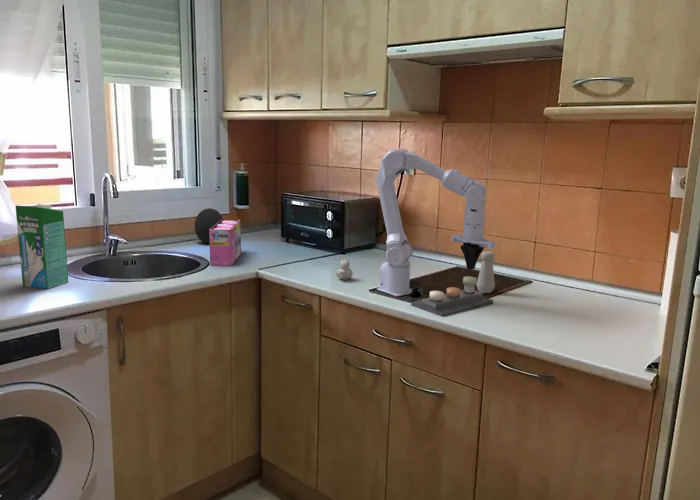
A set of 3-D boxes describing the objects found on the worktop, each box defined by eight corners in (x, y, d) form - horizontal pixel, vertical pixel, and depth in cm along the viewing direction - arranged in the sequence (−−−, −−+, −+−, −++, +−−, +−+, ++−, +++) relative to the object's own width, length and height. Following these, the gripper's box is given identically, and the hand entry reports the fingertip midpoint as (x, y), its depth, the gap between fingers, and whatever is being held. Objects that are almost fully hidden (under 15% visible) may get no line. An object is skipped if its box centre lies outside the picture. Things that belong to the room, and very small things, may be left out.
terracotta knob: (442, 302, 172) (443, 288, 171) (452, 300, 174) (453, 286, 174) (453, 305, 169) (454, 291, 168) (462, 303, 171) (463, 289, 170)
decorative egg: (206, 239, 258) (205, 205, 254) (230, 242, 253) (229, 207, 250) (188, 244, 246) (187, 209, 243) (213, 247, 242) (212, 211, 239)
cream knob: (426, 306, 168) (426, 292, 167) (435, 303, 170) (436, 289, 169) (436, 309, 165) (437, 295, 164) (445, 307, 167) (446, 293, 166)
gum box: (222, 251, 234) (221, 218, 231) (242, 252, 234) (241, 218, 231) (209, 265, 211) (208, 228, 208) (231, 266, 211) (230, 229, 208)
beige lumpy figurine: (354, 278, 199) (355, 255, 197) (349, 283, 192) (350, 259, 191) (339, 276, 200) (339, 254, 198) (333, 281, 194) (334, 257, 192)
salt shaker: (481, 288, 190) (484, 249, 187) (497, 291, 186) (500, 252, 184) (472, 292, 185) (475, 251, 183) (489, 295, 182) (492, 254, 179)
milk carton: (68, 282, 184) (62, 203, 179) (47, 289, 176) (40, 207, 171) (45, 279, 187) (38, 201, 182) (22, 286, 178) (15, 205, 173)
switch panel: (411, 305, 170) (411, 296, 169) (462, 293, 183) (462, 285, 182) (441, 316, 160) (442, 307, 160) (492, 303, 174) (493, 294, 173)
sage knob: (459, 291, 176) (460, 277, 175) (468, 289, 178) (469, 275, 177) (469, 294, 173) (470, 280, 172) (478, 292, 175) (479, 278, 174)
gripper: (445, 221, 174) (443, 265, 177) (485, 228, 163) (482, 275, 166) (460, 219, 178) (458, 262, 181) (500, 226, 168) (497, 272, 171)
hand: (470, 268), depth 174 cm, fingers closed
